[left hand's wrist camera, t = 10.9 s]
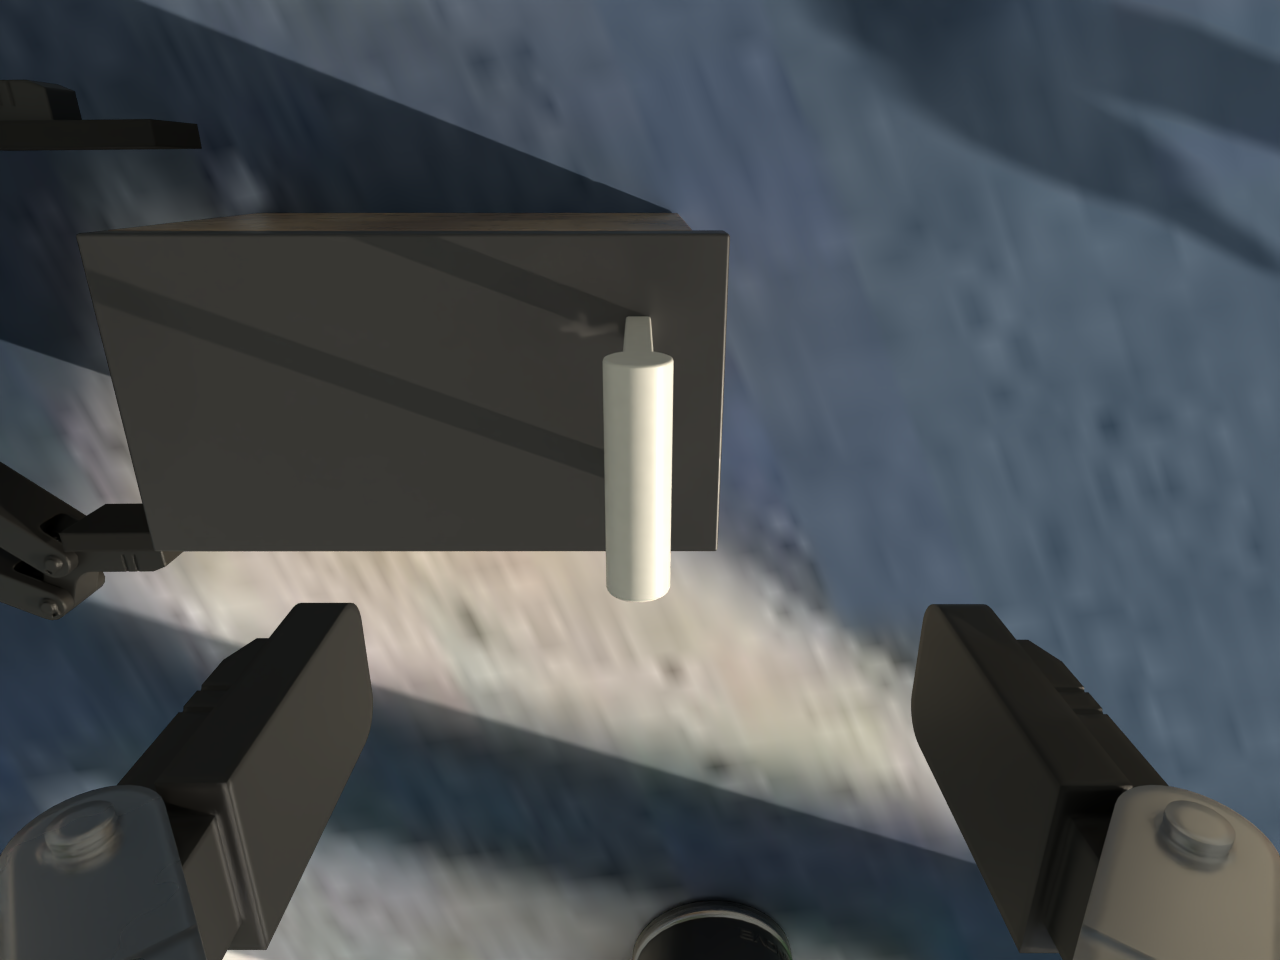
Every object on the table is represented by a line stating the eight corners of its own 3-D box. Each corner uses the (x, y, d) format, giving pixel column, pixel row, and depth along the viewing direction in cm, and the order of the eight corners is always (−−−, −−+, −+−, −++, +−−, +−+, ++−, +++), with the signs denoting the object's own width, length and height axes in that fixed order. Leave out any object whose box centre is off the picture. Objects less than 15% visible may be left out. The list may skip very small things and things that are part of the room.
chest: (678, 213, 32) (693, 230, 23) (674, 439, 36) (686, 534, 26) (258, 212, 32) (104, 230, 23) (296, 440, 36) (176, 534, 26)
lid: (725, 230, 23) (768, 259, 15) (714, 534, 26) (744, 679, 19) (103, 230, 23) (-160, 259, 15) (175, 534, 26) (-10, 680, 19)
